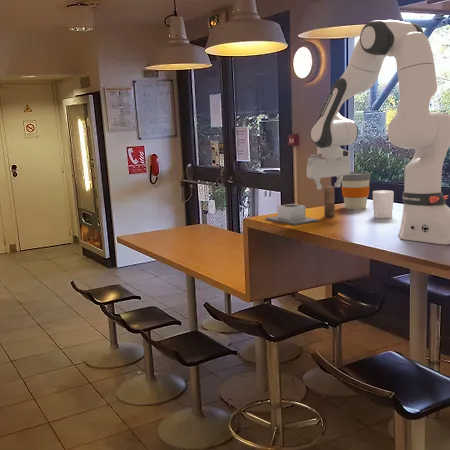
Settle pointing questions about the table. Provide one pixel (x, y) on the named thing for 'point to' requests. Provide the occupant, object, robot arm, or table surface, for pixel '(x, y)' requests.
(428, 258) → the table surface
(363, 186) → the reusable coffee cup
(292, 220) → the cup bracket
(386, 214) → the white cup
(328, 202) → the walnut rail post
